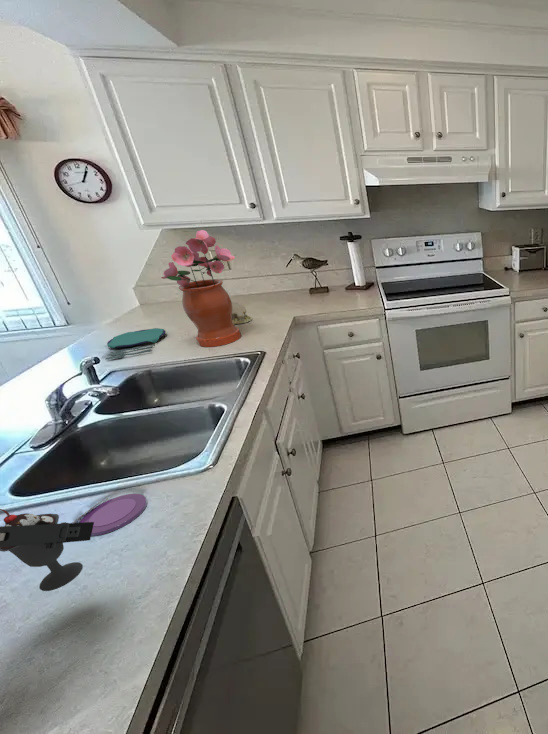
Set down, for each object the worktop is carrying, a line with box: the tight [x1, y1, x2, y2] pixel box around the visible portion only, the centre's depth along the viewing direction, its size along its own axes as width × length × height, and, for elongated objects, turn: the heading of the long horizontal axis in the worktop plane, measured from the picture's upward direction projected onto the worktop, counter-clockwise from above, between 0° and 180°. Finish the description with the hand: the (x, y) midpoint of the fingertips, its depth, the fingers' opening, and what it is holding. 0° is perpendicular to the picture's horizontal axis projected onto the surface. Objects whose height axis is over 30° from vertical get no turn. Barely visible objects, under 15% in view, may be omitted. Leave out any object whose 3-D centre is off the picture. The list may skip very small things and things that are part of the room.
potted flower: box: [160, 229, 242, 348], centre depth 166 cm, size 19×25×45 cm
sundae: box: [0, 508, 84, 592], centre depth 61 cm, size 7×7×15 cm
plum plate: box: [78, 493, 148, 537], centre depth 87 cm, size 11×11×1 cm
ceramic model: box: [232, 301, 253, 325], centre depth 194 cm, size 14×11×10 cm
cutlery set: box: [104, 327, 166, 360], centre depth 173 cm, size 20×30×2 cm, turn 28°
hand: (63, 533), depth 65 cm, fingers closed on sundae, 7 cm apart
